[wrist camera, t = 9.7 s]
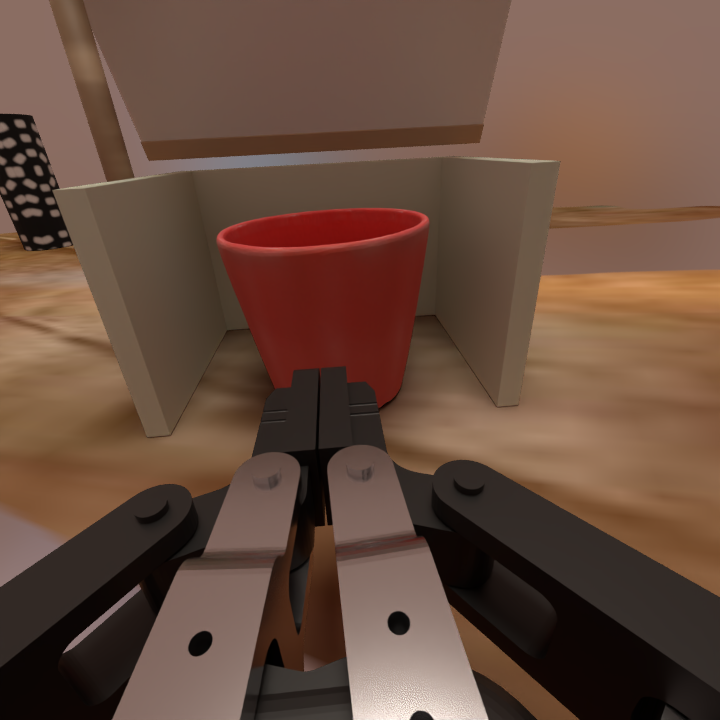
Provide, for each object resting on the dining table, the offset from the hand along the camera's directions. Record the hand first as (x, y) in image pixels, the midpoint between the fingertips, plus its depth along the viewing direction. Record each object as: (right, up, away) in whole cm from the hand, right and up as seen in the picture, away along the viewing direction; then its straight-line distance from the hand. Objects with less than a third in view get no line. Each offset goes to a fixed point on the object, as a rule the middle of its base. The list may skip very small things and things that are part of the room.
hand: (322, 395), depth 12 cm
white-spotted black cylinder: (-55, +22, +60) cm, 84 cm away
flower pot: (0, -1, +13) cm, 13 cm away
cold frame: (-1, +1, +16) cm, 16 cm away
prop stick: (-12, +1, +16) cm, 20 cm away
